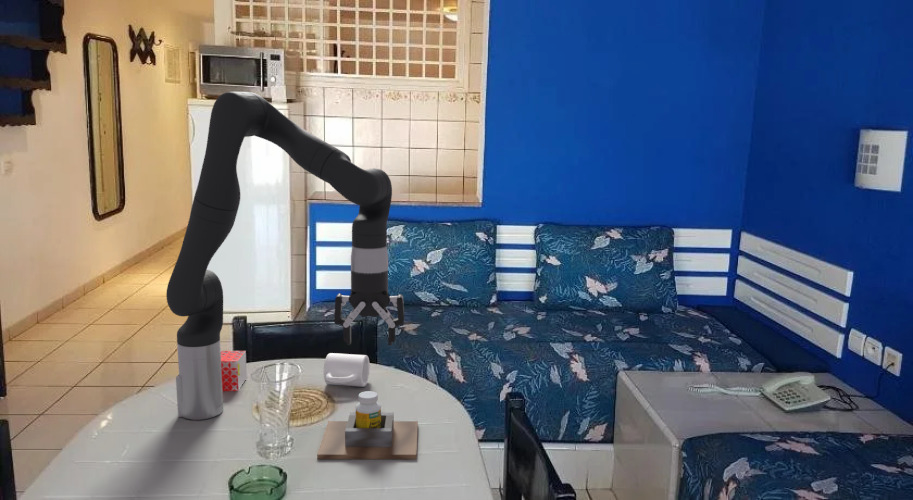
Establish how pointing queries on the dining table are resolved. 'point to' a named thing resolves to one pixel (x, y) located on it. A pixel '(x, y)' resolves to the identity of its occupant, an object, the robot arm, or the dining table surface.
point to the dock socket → (369, 440)
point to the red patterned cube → (233, 369)
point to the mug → (346, 369)
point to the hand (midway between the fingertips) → (369, 343)
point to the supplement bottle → (368, 410)
